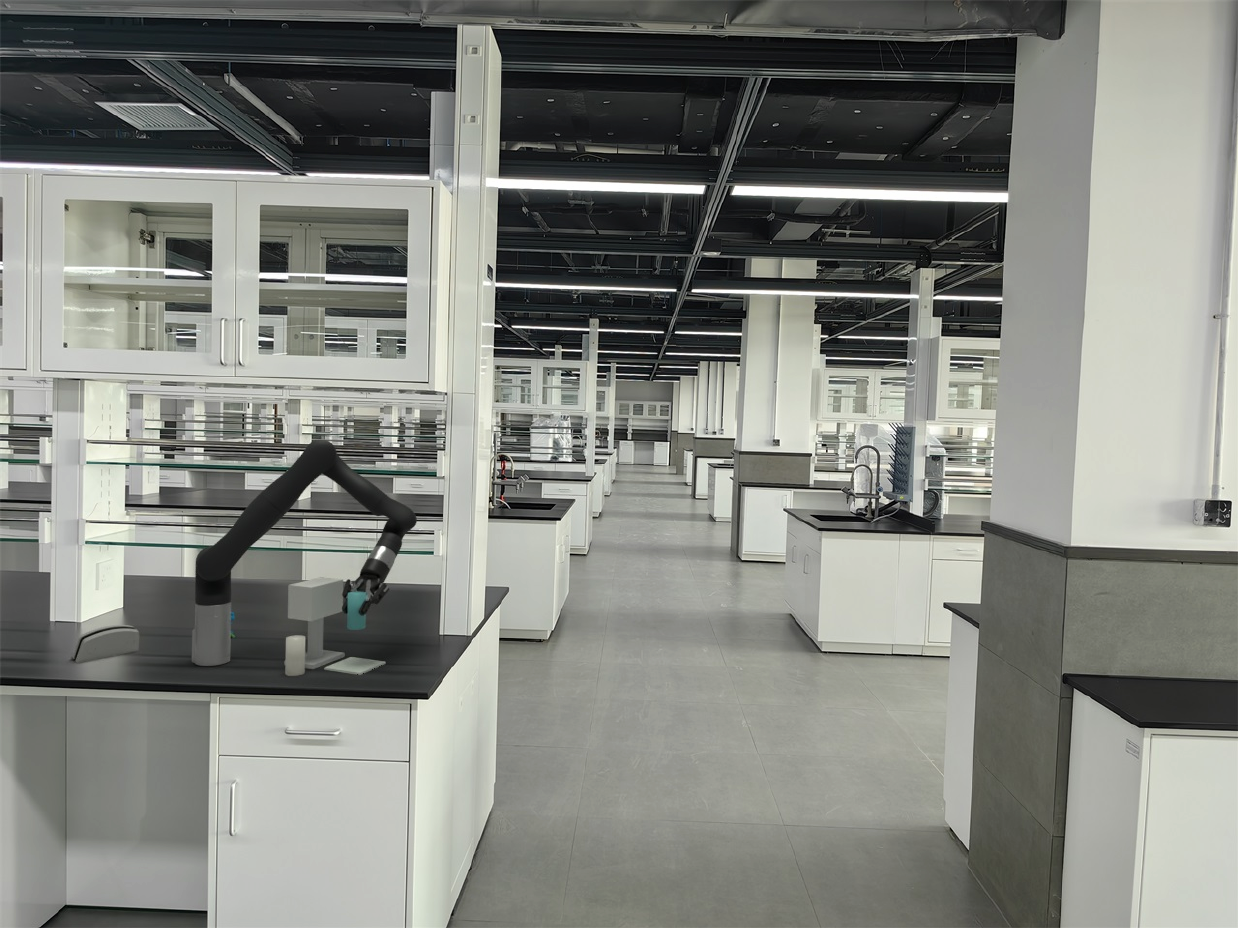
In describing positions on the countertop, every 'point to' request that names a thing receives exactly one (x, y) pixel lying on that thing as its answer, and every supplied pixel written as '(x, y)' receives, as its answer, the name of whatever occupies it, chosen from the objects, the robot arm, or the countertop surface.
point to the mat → (355, 665)
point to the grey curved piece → (106, 643)
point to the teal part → (355, 611)
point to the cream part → (295, 655)
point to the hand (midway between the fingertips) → (352, 612)
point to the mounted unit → (316, 614)
